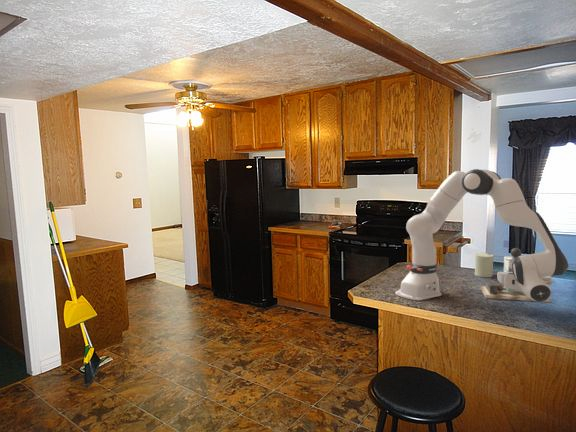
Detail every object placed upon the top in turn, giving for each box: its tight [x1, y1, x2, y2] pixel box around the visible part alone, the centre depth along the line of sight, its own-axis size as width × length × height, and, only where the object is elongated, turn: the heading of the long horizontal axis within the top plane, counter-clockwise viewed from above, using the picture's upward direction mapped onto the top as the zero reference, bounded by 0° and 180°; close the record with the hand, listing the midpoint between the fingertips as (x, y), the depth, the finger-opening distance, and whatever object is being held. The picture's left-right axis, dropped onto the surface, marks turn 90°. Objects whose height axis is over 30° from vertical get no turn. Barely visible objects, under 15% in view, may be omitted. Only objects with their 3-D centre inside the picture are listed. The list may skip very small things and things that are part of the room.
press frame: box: [480, 279, 551, 303], centre depth 185 cm, size 26×14×6 cm, turn 73°
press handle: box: [503, 247, 522, 292], centre depth 184 cm, size 6×8×20 cm
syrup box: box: [502, 255, 512, 272], centre depth 200 cm, size 6×6×14 cm
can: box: [474, 252, 494, 278], centre depth 220 cm, size 9×9×12 cm
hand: (519, 273), depth 178 cm, fingers open, 8 cm apart
